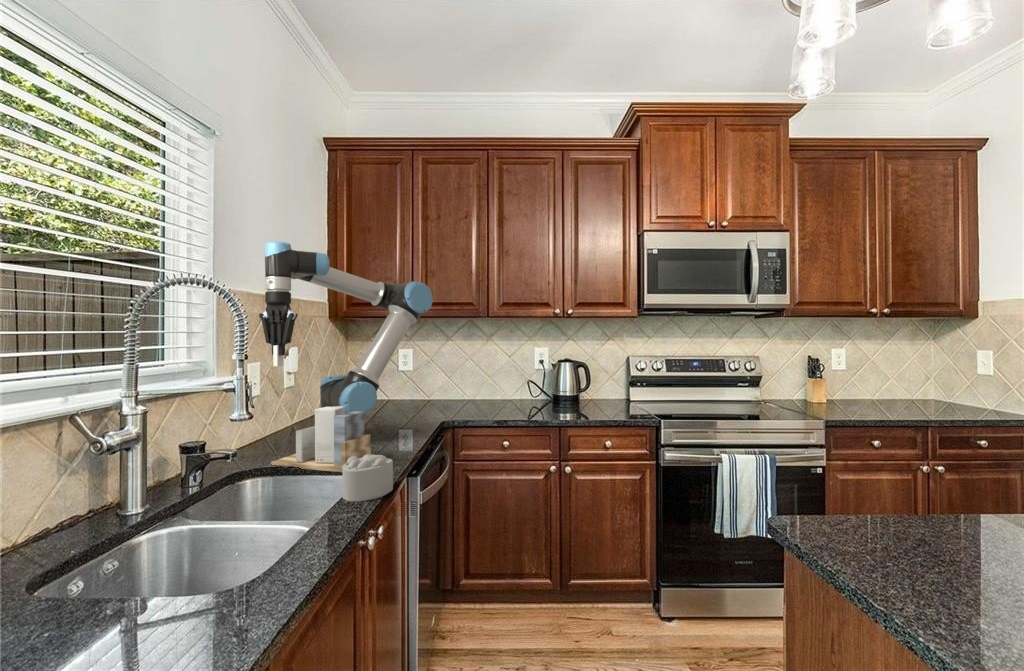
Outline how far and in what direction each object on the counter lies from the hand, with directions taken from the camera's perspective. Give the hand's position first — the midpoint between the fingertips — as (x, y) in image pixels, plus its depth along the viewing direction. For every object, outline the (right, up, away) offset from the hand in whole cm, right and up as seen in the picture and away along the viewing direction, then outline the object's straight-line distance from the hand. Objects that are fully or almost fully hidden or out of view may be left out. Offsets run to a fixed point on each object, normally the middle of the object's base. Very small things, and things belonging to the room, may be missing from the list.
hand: (278, 365), depth 167 cm
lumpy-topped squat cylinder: (+38, -29, -39) cm, 62 cm away
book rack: (+17, -28, -10) cm, 35 cm away
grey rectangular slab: (+13, -27, -9) cm, 32 cm away
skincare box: (+20, -27, -11) cm, 36 cm away
